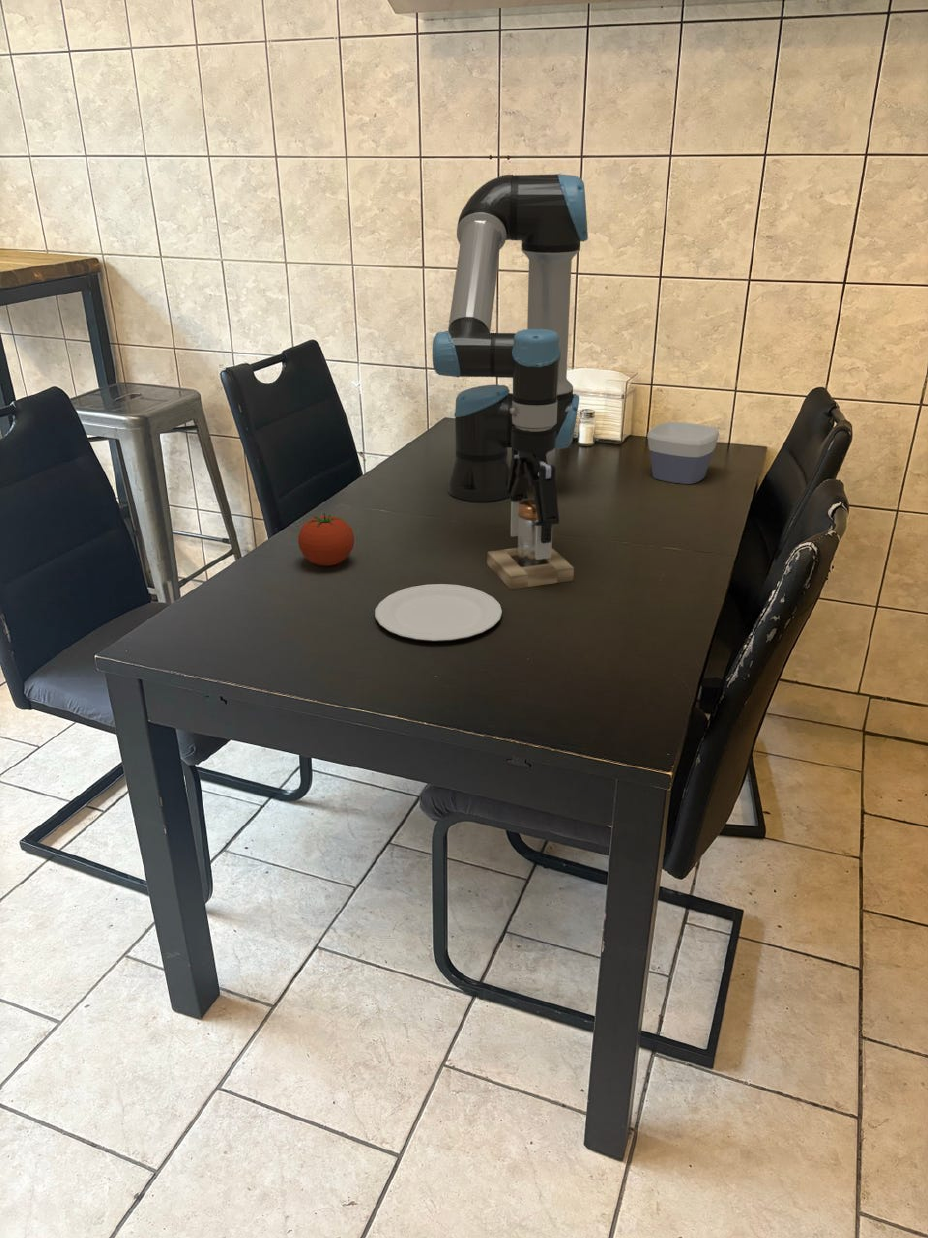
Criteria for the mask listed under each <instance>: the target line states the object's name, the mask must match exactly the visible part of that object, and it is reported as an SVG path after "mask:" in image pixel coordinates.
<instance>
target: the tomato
mask: <svg viewBox="0 0 928 1238" xmlns="http://www.w3.org/2000/svg"><path fill="white" fill-rule="evenodd" d="M297 542H298V543H297V544H298V547H299V549H300V552H301V553H302V555H303V556H304V558H306V559H307V560H308V561H309V562H311V563H313V564H315V565H317V566H318V565H319V566H322V567H323V566H326V567H327V566H328V567H329V566H334V565H338V564H339V563H342V562H343V561H344V560H345V559H347V558H348V556H350V554H351V552H352V550H353V548H354V545H355V543H354V542H355V537H354V531H353V530H352V528H351V526H350V525H349V523H348V522H346V521H345V520H344V519H343V518H341V517H338V516H335V515H331V514H326V513H325V512H323V515H320V516H319V515H315V516H313V517H311V518H310V519H308V520H307V521H306V522H305V523H304V524H303V525H302V526H301V528H300V530H299V534H298V537H297Z"/></svg>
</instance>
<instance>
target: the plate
mask: <svg viewBox="0 0 928 1238" xmlns="http://www.w3.org/2000/svg"><path fill="white" fill-rule="evenodd" d="M374 613H375V614H374V615H375V616H374V617H375V620H376V621H377V623H378V624H379V626H380V627H382V629H385V630H386V631H387V632H389V633H391V634H392V635H396V636H397V637H400V638H404V639H408V640H413V641H418V642H432V643H437V642H438V643H439V642H453V641H460V640H461V641H462V640H465V639H466V640H467V639H469V638H473V637H476V636H479V635H481V634H483V633H485V632H487V631H489V630H490V629H492V628H494V627H495V626H496V624H498V623H499V621H500V620H501V617H502V614H503V610H502V608H501V604H500V603H499V602H498V601H497V600H496V599H495V597H494V596H492V595H490V594H488V593H486V592H484V591H483V590H479V589H476V588H473V587H469V586H464V585H459V584H446V583H445V584H444V583H439V584H438V583H436V584H424V585H418V586H417V585H416V586H410V587H407V588H404V589H400V590H397V591H395V592H393V593H391V594H389V595H388V596H386V597H385V598H383V599H382V600H381V601H380V602H379V603H378V604H377V606H376V608H375V611H374Z"/></svg>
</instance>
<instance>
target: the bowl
mask: <svg viewBox="0 0 928 1238" xmlns="http://www.w3.org/2000/svg"><path fill="white" fill-rule="evenodd" d="M646 436H647V444H648V450H649V451H648V452H649V458H650V463H651V464H650V465H651V472H652V478H653V479H656V480H659V481H662V482H667V483H673V484H682V485H694V484H697V483H698V482H700V481H701V480H703V479H704V478H705V476H706V474H707V471H708V468H709V465H710V462H711V460H712V456H713V455H714V451H715V449H716V446H717V444H718V440H719V437H720V432H719V429H718V428H717V427H714V426H709V425H704V424H697V423H690V422H683V421H682V422H681V421H665V422H661V423H659V424H657V425H655V426H653V427H652V428H650V430H649V431H648V432H647V435H646Z"/></svg>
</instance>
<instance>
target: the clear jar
mask: <svg viewBox="0 0 928 1238" xmlns="http://www.w3.org/2000/svg"><path fill="white" fill-rule="evenodd" d="M518 515H519V524H518V536H517V548H518V565H519V566H520V567H527V566H534V565H541V564H542V559H541V560H536V559H535V544H536V525H535V523H536V522H539V521H538V516H537V511H536V505H535V500H534V499H532V500H531V499H530V500H529V499H526V500H525V501H522V502H520V503H519V512H518Z"/></svg>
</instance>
